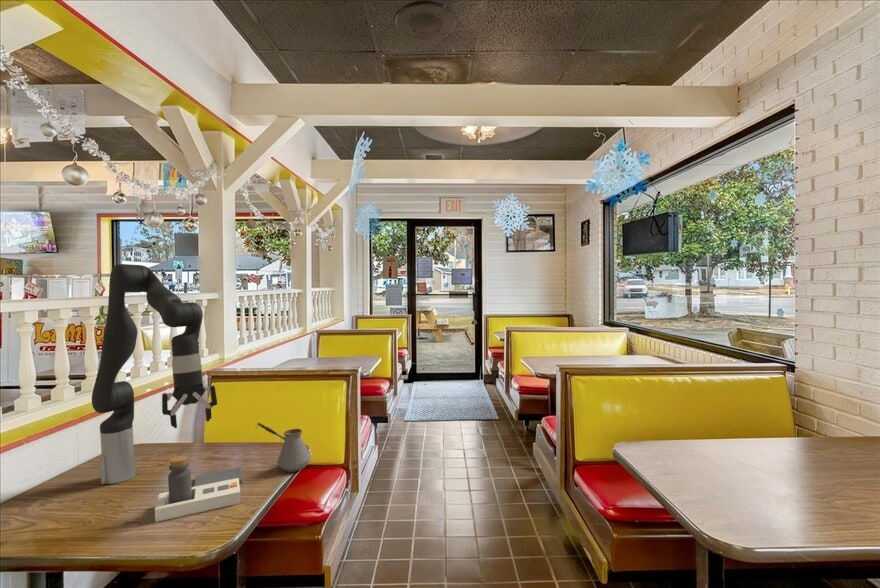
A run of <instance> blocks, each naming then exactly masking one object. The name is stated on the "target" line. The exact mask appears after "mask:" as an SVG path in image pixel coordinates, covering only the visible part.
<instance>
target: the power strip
mask: <svg viewBox="0 0 880 588" xmlns="http://www.w3.org/2000/svg"><path fill="white" fill-rule="evenodd" d="M240 485H241V484H239V478H235V479H230V480H225V481H220V482H215V483H210V484H205V485H200V486H195V485H194V486H195V487H194V486H191V487H192V500H187V501H182V502H177V503H173V504H170V502H169V491H166V492H161V493H159V495H158V496H157V497H158V498H157V500H156V503H155V508H154V517H155V518H154V520H155V523H157V522H163V521H167V520H170V519H175V518H179V517H185V516H189V515H193V514H198V513H203V512H207V511H212V510H216V509H221V508H225V507H229V506H234V505H238V504H239V505H240V504H241V501H242V500H241V487H240Z"/></svg>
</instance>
